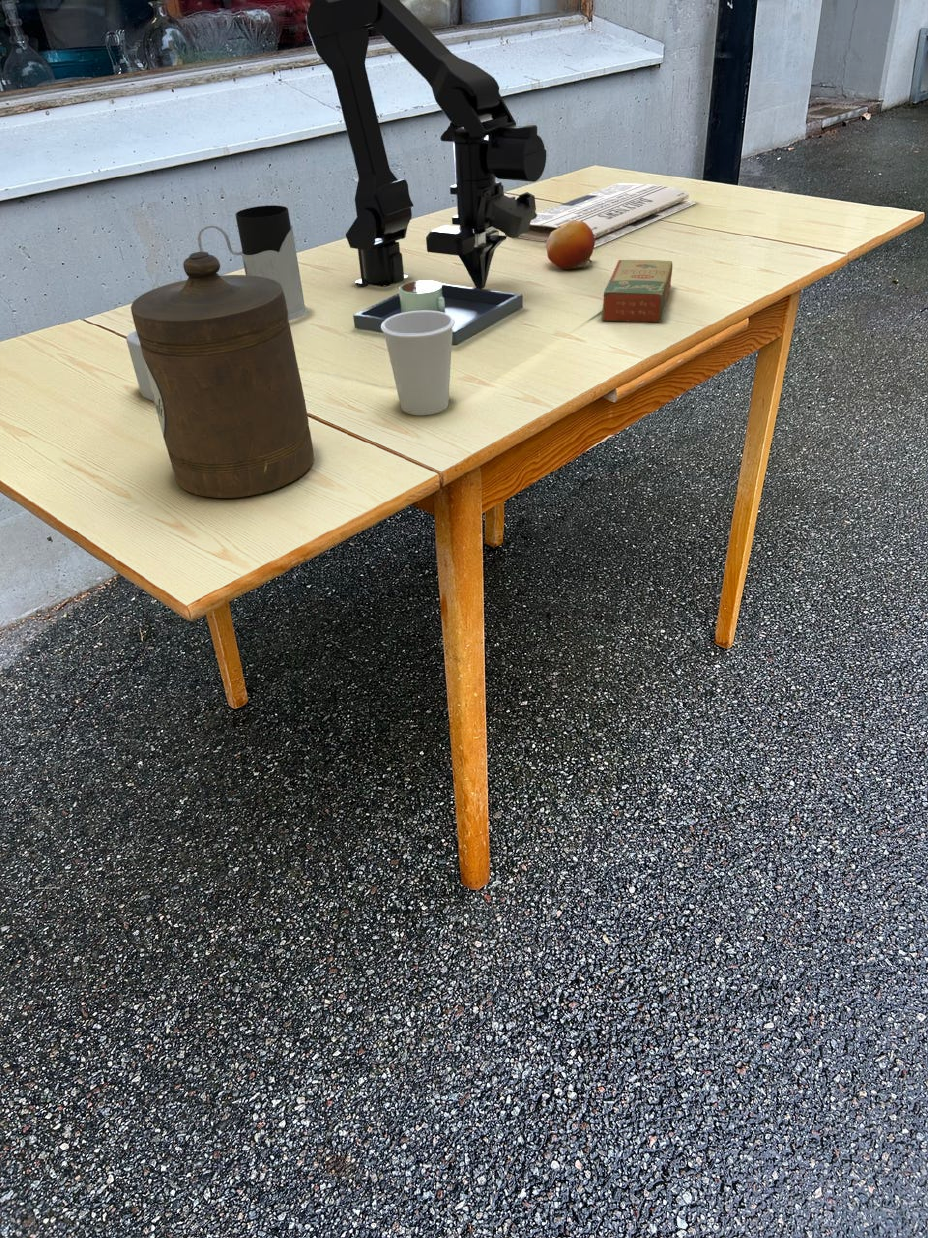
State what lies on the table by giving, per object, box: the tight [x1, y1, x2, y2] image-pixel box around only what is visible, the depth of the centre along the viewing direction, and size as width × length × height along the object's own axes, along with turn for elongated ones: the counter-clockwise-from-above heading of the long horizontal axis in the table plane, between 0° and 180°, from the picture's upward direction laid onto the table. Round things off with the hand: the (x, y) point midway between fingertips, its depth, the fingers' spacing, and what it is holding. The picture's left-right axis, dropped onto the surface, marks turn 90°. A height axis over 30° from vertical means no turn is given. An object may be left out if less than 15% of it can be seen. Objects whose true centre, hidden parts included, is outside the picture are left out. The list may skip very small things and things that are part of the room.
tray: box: [352, 282, 524, 346], centre depth 134 cm, size 18×18×2 cm
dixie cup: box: [381, 310, 455, 416], centre depth 107 cm, size 8×8×10 cm
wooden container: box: [130, 251, 315, 499], centre depth 93 cm, size 15×15×22 cm
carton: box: [601, 259, 673, 323], centre depth 135 cm, size 8×16×4 cm, turn 165°
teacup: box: [398, 280, 445, 313], centre depth 130 cm, size 7×6×6 cm
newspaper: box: [518, 182, 697, 249], centre depth 177 cm, size 37×19×3 cm, turn 140°
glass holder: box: [197, 204, 309, 322], centre depth 136 cm, size 9×14×15 cm, turn 94°
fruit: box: [545, 221, 595, 271], centre depth 152 cm, size 8×8×8 cm
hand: (480, 288), depth 141 cm, fingers closed
